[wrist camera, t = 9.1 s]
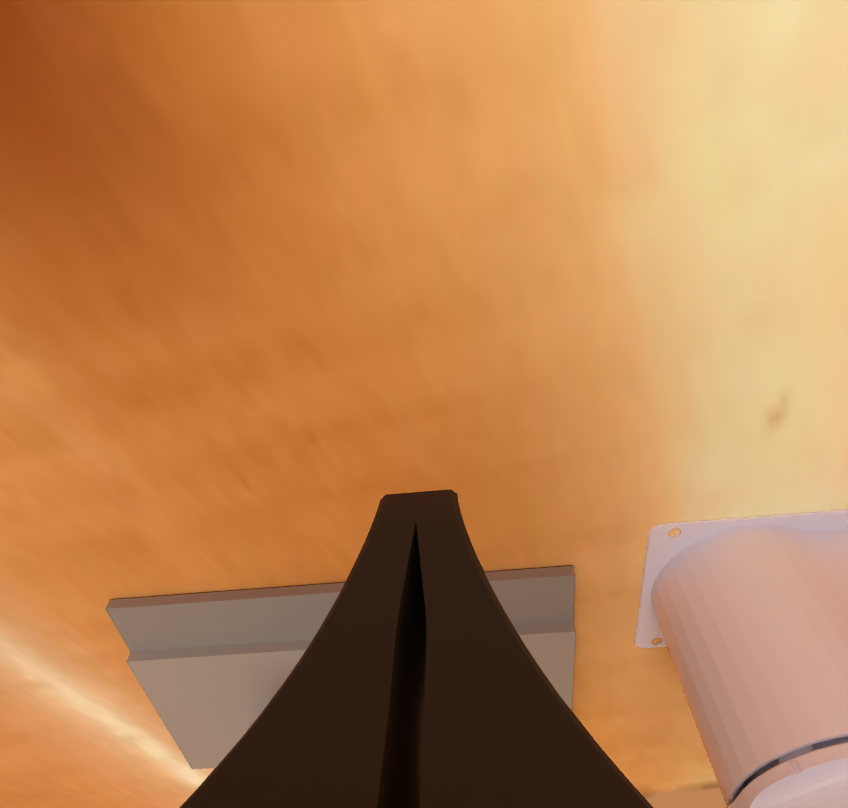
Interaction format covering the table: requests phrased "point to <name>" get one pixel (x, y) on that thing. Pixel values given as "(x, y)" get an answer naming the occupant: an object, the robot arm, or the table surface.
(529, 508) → the table surface
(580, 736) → the robot arm
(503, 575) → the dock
